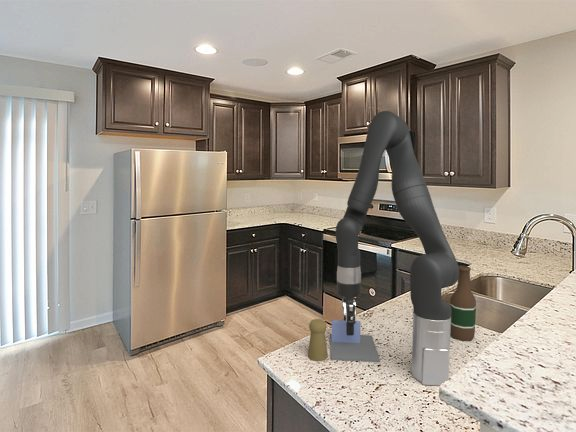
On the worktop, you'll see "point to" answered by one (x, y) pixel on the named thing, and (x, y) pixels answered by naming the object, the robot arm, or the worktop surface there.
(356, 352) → the mat
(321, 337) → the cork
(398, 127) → the robot arm
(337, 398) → the worktop surface
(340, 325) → the card deck
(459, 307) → the beer bottle
